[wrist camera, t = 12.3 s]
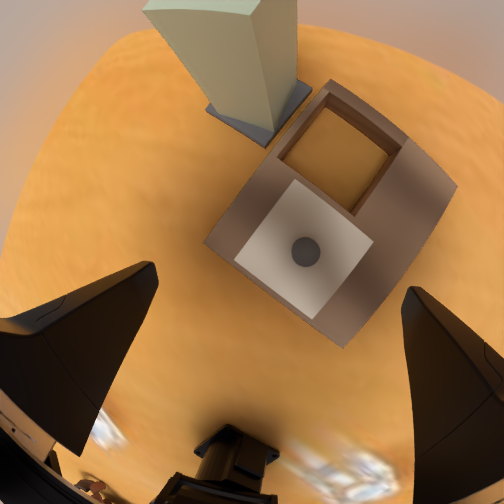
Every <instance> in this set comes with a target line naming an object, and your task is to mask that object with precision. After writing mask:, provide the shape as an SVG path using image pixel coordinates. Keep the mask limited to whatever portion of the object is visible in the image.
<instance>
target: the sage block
mask: <svg viewBox="0 0 504 504" xmlns="http://www.w3.org/2000/svg"><path fill="white" fill-rule="evenodd" d="M142 11H143V13H144V14H145V15H146V16H147V18H148V19H149V20H150V21H151V23H152V24H153V25H154V27H155V28H156V29H157V30H158V32H159V33H160V34H161V35H162V37H163V38H164V39H165V41H166V42H167V43H168V45H169V46H170V47H171V49H172V50H173V51H174V53H175V54H176V55H177V57H178V58H179V59H180V61H181V62H182V63H183V65H184V66H185V67H186V69H187V70H188V71H189V73H190V74H191V76H192V77H193V78H194V80H195V81H196V83H197V84H198V85H199V87H200V88H201V90H202V91H203V92H204V94H205V95H206V97H207V98H208V100H209V101H210V102H211V104H212V105H213V107H214V108H215V110H216V111H217V113H218V114H220V115H224V116H227V117H230V118H234V119H237V120H240V121H243V122H246V123H249V124H252V125H255V126H258V127H261V128H264V129H267V130H269V131H272V132H275V130H276V127H277V125H278V123H279V121H280V119H281V116H282V114H283V112H284V110H285V108H286V106H287V103H288V101H289V99H290V97H291V95H292V93H293V91H294V89H295V86H296V84H297V0H150V1H149V2H148V3H147V4H146V6H145V7H144V8H143V9H142Z"/></svg>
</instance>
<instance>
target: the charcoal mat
mask: <svg viewBox="0 0 504 504" xmlns="http://www.w3.org/2000/svg"><path fill="white" fill-rule="evenodd" d="M311 92H312V87H310V86H308V85H307V84H305V83H303V82H302V81H300V80H298V79H297V84H296V86H295V89H294V91H293V93H292V95H291V97H290V99H289V101H288V103H287V106H286V108H285V110H284V112H283V114H282V116H281V119H280V121H279V123H278V125H277V127H276V130H275V132H272V131H269V130H267V129H264V128H261V127H258V126H255V125H252V124H249V123H246V122H243V121H240V120H237V119H234V118H230V117H227V116H224V115H220V114H218V113H217V111H216V110H215V108H214V107H213V105H212V104H211V103H210V104H209V105H208V106H207V108H206V109H205V110H206V112H207V113H209V114H211V115H212V116H214V117H216V118H217V119H219V120H221V121H222V122H224V123H226V124H227V125H229V126H231V127H232V128H234V129H235V130H237V131H239V132H240V133H242V134H243V135H245V136H246V137H248V138H250V139H251V140H253V141H254V142H256V143H257V144H259V145H260V146H262V147H263V148H266V147H267V146H268V144H269V143H270V142H271V141H272V139H273V138H274V137H275V136H276V134H277V133H278V132H279V131H280V129H281V128H282V127H283V126H284V124H285V123H286V122H287V121H288V119H289V118H290V117H291V116H292V115H293V113H294V112H295V111H296V110H297V109H298V107H299V106H300V105H301V104H302V103H303V101H304V100H305V99H306V98H307V97H308V96H309V94H310V93H311Z"/></svg>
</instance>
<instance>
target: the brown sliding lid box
mask: <svg viewBox="0 0 504 504" xmlns="http://www.w3.org/2000/svg"><path fill="white" fill-rule="evenodd" d="M324 107H327V108H328V109H330V110H331V111H333V112H334V113H335V114H337V115H338V116H340V117H341V118H343V119H344V120H345V121H347V122H348V123H350V124H351V125H352V126H354V127H355V128H356V129H358V130H359V131H360V132H362V133H363V134H364V135H365V136H367V137H368V138H369V139H371V140H372V141H373V142H374V143H376V144H377V145H378V146H379V147H380V148H382V149H383V150H384V151H385V152H386V153H388V154H389V155H390V156H389V158H388V159H387V161H386V162H385V164H384V165H383V167H382V168H381V170H380V171H379V172H378V174H377V175H376V177H375V178H374V180H373V181H372V183H371V184H370V185H369V187H368V188H367V190H366V191H365V193H364V194H363V195H362V197H361V198H360V200H359V201H358V202H357V204H356V205H355V207H354V208H353V209H352V211H351V212H350V213H349V212H348V211H347V210H345V209H344V208H343V207H342V206H340V205H339V204H338V203H337V202H335V201H334V200H333V199H332V198H330V197H329V196H328V195H327V194H325V193H324V192H323V191H321V190H320V189H319V188H318V187H316V186H315V185H314V184H312V183H311V182H310V181H308V180H307V179H306V178H304V177H303V176H302V175H300V174H299V173H297V172H296V171H295V170H293V169H292V168H291V167H289V166H288V165H286V164H285V163H283V162H282V160H283V159H284V157H285V156H286V155H287V154H288V152H289V151H290V150H291V148H292V147H293V146H294V145H295V143H296V142H297V141H298V140H299V138H300V137H301V136H302V134H303V133H304V132H305V131H306V129H307V128H308V127H309V126H310V124H311V123H312V122H313V121H314V119H315V118H316V117H317V116H318V114H319V113H320V112H321V111H322V110H323V108H324ZM457 187H458V186H457V185H456V183H455V182H454V181H453V180H452V179H451V178H450V177H449V176H448V175H447V174H446V173H445V171H444V170H443V169H442V168H441V167H440V166H439V165H438V164H437V163H436V162H435V161H434V160H433V159H432V158H431V157H430V156H429V155H428V154H427V153H426V152H425V151H424V150H423V149H421V148H420V147H419V146H418V145H417V144H416V143H415V142H414V141H413V140H412V139H411V138H409V137H408V136H407V135H406V134H405V133H404V132H403V131H401V130H400V129H399V128H398V127H397V126H395V125H394V124H393V123H392V122H391V121H389V120H388V119H387V118H386V117H384V116H383V115H382V114H381V113H379V112H378V111H377V110H375V109H374V108H373V107H371V106H370V105H369V104H367V103H366V102H365V101H363V100H362V99H360V98H359V97H357V96H356V95H355V94H353V93H352V92H350V91H349V90H347V89H346V88H344V87H343V86H341V85H340V84H338V83H336V82H335V81H333V80H332V79H330V80H329V81H328V82H327V83H326V85H325V86H324V87H323V88H322V89H321V90H320V92H319V93H318V94H317V95H316V96H315V98H314V99H313V100H312V101H311V102H310V104H309V105H308V106H307V107H306V108H305V110H304V111H303V112H302V113H301V114H300V116H299V117H298V118H297V119H296V121H295V122H294V123H293V124H292V125H291V127H290V128H289V129H288V130H287V132H286V133H285V134H284V135H283V137H282V138H281V139H280V140H279V142H278V143H277V144H276V145H275V147H274V148H273V149H272V151H271V152H270V153H269V154H268V156H267V157H266V158H265V160H264V161H263V162H262V163H261V165H260V166H259V167H258V169H257V170H256V171H255V173H254V174H253V175H252V177H251V178H250V179H249V181H248V182H247V183H246V184H245V186H244V187H243V188H242V190H241V191H240V193H239V194H238V195H237V197H236V198H235V199H234V201H233V202H232V203H231V205H230V206H229V207H228V209H227V210H226V212H225V213H224V214H223V216H222V217H221V218H220V220H219V221H218V223H217V224H216V225H215V227H214V228H213V230H212V231H211V232H210V234H209V235H208V237H207V238H206V240H205V241H204V242H203V243H204V244H205V245H206V246H208V247H209V248H210V249H211V250H213V251H214V252H215V253H216V254H218V255H219V256H220V257H222V258H223V259H224V260H225V261H227V262H228V263H229V264H231V265H232V266H233V267H234V268H236V269H237V270H238V271H240V272H241V273H242V274H243V275H245V276H246V277H247V278H249V279H250V280H251V281H253V282H254V283H255V284H256V285H258V286H259V287H260V288H262V289H263V290H264V291H266V292H267V293H268V294H270V295H271V296H272V297H273V298H275V299H276V300H277V301H279V302H280V303H281V304H283V305H284V306H285V307H287V308H288V309H289V310H291V311H292V312H293V313H295V314H296V315H297V316H299V317H300V318H301V319H303V320H304V321H305V322H307V323H308V324H309V325H311V326H312V327H314V328H315V329H316V330H318V331H319V332H320V333H322V334H323V335H324V336H326V337H327V338H328V339H330V340H331V341H333V342H334V343H335V344H337V345H338V346H339V347H341V348H342V349H343V348H344V347H345V346H346V345H347V344H348V342H349V341H350V340H351V339H352V338H353V337H354V336H355V335H356V334H357V332H358V331H359V330H360V329H361V328H362V327H363V325H364V324H365V323H366V322H367V321H368V320H369V318H370V317H371V316H372V315H373V314H374V312H375V311H376V310H377V309H378V307H379V306H380V305H381V304H382V302H383V301H384V300H385V299H386V297H387V296H388V295H389V294H390V292H391V291H392V290H393V288H394V287H395V286H396V284H397V283H398V282H399V280H400V279H401V277H402V276H403V275H404V273H405V272H406V271H407V269H408V268H409V266H410V265H411V263H412V262H413V261H414V259H415V258H416V256H417V255H418V253H419V252H420V250H421V249H422V247H423V246H424V244H425V242H426V241H427V239H428V238H429V236H430V235H431V233H432V231H433V230H434V228H435V226H436V225H437V223H438V221H439V220H440V218H441V216H442V215H443V213H444V211H445V209H446V208H447V206H448V204H449V202H450V200H451V198H452V197H453V195H454V193H455V191H456V189H457Z"/></svg>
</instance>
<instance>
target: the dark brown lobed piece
mask: <svg viewBox="0 0 504 504" xmlns="http://www.w3.org/2000/svg"><path fill="white" fill-rule="evenodd" d="M74 486H75V487H77V488H78V489H82V490H84V491H85V492H88V491H89V490H91V492H92V493H93V494H94V495H92V496H91V497H92V498H94V499H96V500H97V501H99V502H101V503H102V504H112V503H111V502H110V501H109V500H107V499H106V498H105V499H104V500H103V499H102V497H101V495H100V494H99V491H101V490H102V489H106V486H105V484H104V483H103V482H98V481H97V482H94V481H91V480H80V481H79V482H78V483H77V484H75V485H74Z"/></svg>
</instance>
